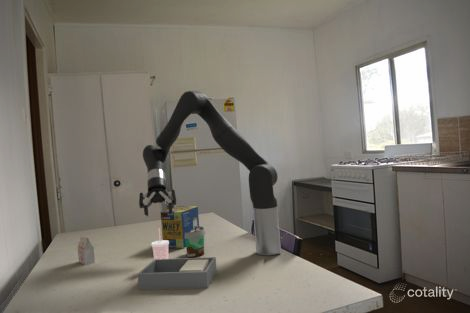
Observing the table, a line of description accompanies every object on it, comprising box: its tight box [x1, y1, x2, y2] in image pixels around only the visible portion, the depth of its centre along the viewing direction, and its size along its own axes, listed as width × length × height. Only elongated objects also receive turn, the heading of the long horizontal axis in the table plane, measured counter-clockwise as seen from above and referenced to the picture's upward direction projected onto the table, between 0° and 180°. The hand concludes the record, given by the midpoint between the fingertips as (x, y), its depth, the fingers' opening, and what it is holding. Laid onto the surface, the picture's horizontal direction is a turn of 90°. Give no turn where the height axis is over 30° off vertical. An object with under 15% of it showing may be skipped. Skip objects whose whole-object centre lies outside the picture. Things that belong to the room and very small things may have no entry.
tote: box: [136, 256, 218, 291], centre depth 106 cm, size 21×14×6 cm, turn 82°
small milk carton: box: [77, 235, 96, 266], centre depth 136 cm, size 4×7×10 cm, turn 43°
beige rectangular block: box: [179, 259, 209, 272], centre depth 105 cm, size 7×10×4 cm
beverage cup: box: [151, 227, 170, 260], centre depth 122 cm, size 6×6×14 cm
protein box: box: [160, 205, 200, 249], centre depth 154 cm, size 10×15×16 cm
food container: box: [185, 225, 207, 258], centre depth 135 cm, size 12×6×10 cm, turn 168°
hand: (158, 213), depth 133 cm, fingers open, 8 cm apart
